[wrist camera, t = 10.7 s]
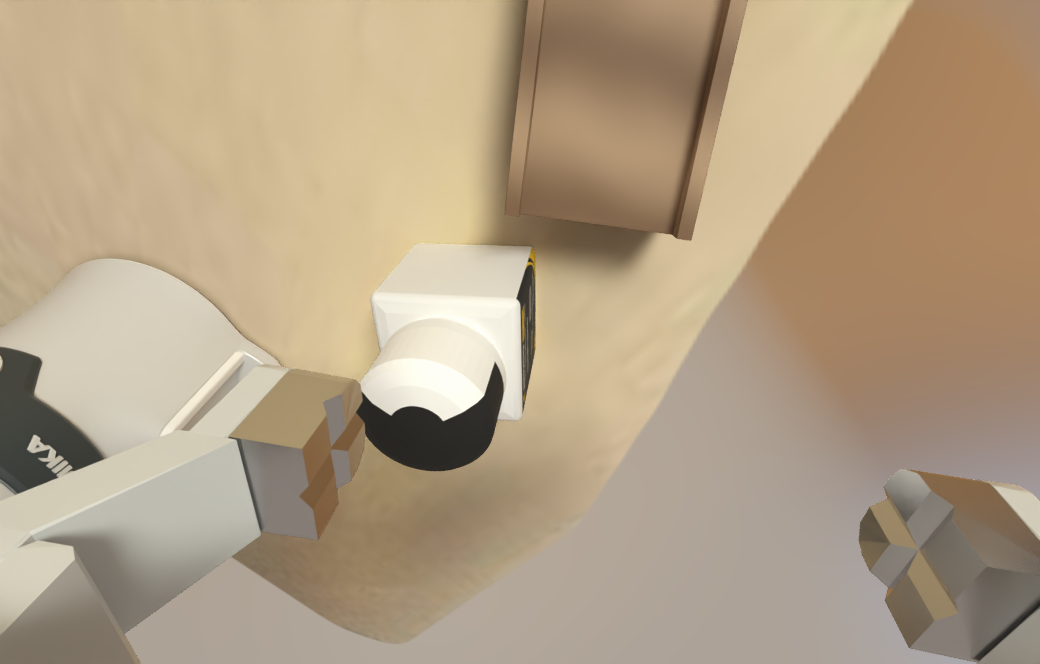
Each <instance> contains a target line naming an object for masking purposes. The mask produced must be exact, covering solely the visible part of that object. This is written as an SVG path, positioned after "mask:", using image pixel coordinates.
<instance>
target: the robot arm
mask: <svg viewBox="0 0 1040 664" xmlns="http://www.w3.org/2000/svg"><path fill="white" fill-rule="evenodd" d="M362 401H363V400H362V392H361V384H360V383H358V382H357V381H356V380H354V379H348V378H343V377H338V376H332V375H327V374H321V373H316V372H311V371H305V370H300V369H291V368H286V367H281V365H280V364H279V362H278V361H277V360H276V359H275V358H273V357H272V356H271V355H270V354H268V353H267V352H265V351H264V350H262V349H261V348H259V347H258V346H256V345H255V344H253V343H251V342H250V341H248V340H247V339H245V338H244V337H243V336H242V335H241V334H240V333H239V332H238V331H237V330H236V329H235V328H234V326H233V325H232V324H231V323H230V322H229V321H228V320H227V318H226V317H225V316H224V315H223V314H222V313H221V312H220V311H219V310H218V309H217V308H216V307H215V306H214V305H213V304H212V303H211V302H210V301H208V300H207V299H206V298H205V297H204V296H202V295H201V294H200V293H199V292H197V291H196V290H194V289H193V288H192V287H190V286H189V285H187V284H186V283H184V282H182V281H181V280H179V279H177V278H175V277H174V276H172V275H170V274H168V273H166V272H163V271H161V270H159V269H156V268H154V267H151V266H148V265H145V264H142V263H138V262H134V261H129V260H123V259H97V260H92V261H88V262H85V263H83V264H80V265H78V266H77V267H75V268H74V269H72V270H71V271H70V272H69V273H68V274H67V275H66V276H65V277H64V278H63V279H62V280H61V281H60V282H59V283H58V284H57V285H56V286H55V287H54V288H53V289H52V290H51V291H50V292H48V293H47V294H46V295H45V296H44V297H43V298H41V299H40V300H39V301H38V302H36V303H35V304H34V305H32V306H31V307H30V308H28V309H27V310H26V311H24V312H23V313H22V314H20V315H19V316H17V317H16V318H14V319H13V320H11V321H10V322H8V323H7V324H5V325H4V326H2V327H1V328H0V664H141V663H140V660H139V659H138V657H137V655H136V653H135V652H134V650H133V648H132V647H131V645H130V643H129V641H128V640H127V638H126V636H125V635H124V634H125V633H126V632H128V631H129V630H130V629H132V628H133V627H135V626H136V625H137V624H139V623H140V622H141V621H143V620H144V619H145V618H147V617H148V616H150V615H151V614H153V613H154V612H155V611H157V610H158V609H159V608H161V607H162V606H164V605H165V604H166V603H168V602H169V601H170V600H172V599H173V598H175V597H176V596H177V595H179V594H180V593H182V592H183V591H184V590H186V589H187V588H188V587H190V586H191V585H193V584H194V583H195V582H197V581H198V580H200V579H201V578H202V577H204V576H205V575H206V574H208V573H209V572H210V571H212V570H213V569H215V568H216V567H218V566H219V565H220V564H222V563H223V562H224V561H226V560H227V559H228V558H230V557H231V556H233V555H234V554H236V553H237V552H238V551H240V550H241V549H242V548H244V547H245V546H247V545H248V544H249V543H251V542H252V541H253V540H255V539H256V538H258V537H259V536H260V535H261V532H268V533H274V534H281V535H287V536H294V537H300V538H307V539H314V540H318V539H319V537H320V536H321V534H322V532H323V530H324V528H325V527H326V525H327V523H328V521H329V520H330V518H331V516H332V514H333V512H334V511H335V509H336V507H337V505H338V496H337V489H338V488H339V487H341V486H343V485H344V484H346V483H348V482H349V481H351V480H352V478H353V476H354V474H355V472H356V470H357V468H358V466H359V463H360V460H361V456H362V453H363V450H364V442H365V423H364V422H363V420H362V419H361V418H360V417H359V416H358V414H357V413H356V411H357V409H358V408H359V406H360V405H361V403H362ZM884 489H885V493H886V496H887V499H885V500H883V501H881V502H879V503H877V504H875V505H873V506H871V507H869V509H868V511H867V513H866V514H865V516H864V517H863V519H862V521H861V522H860V532H859V544H860V548H861V553H862V556H863V558H864V560H865V562H866V564H867V566H868V568H869V571H870V572H871V573H872V574H874V575H875V576H876V577H877V578H878V579H879V580H880V581H881V582H883V583H884V584H885V585H886V586H887V587H888V590H887V594H886V597H885V602H886V604H887V606H888V608H889V610H890V612H891V614H892V616H893V618H894V620H895V622H896V624H897V626H898V627H899V629H900V631H901V633H902V635H903V637H904V639H905V641H906V643H907V645H908V647H909V648H911V649H916V650H920V651H925V652H930V653H934V654H939V655H944V656H948V657H954V658H958V659H963V660H967V661H973V662H977V664H1040V501H1039V500H1038V499H1037V498H1036V497H1035V496H1034V495H1033V494H1032V493H1030V492H1029V491H1027V490H1025V489H1023V488H1021V487H1020V486H1018V485H1013V484H1006V483H999V482H992V481H985V480H972V479H966V478H960V477H953V476H947V475H941V474H934V473H928V472H922V471H915V470H909V469H902V470H900V471H898V472H896V473H894V474H893V475H892V476H891V477H890V479H889V480H888V481H887V483H886V484H885V486H884Z"/></svg>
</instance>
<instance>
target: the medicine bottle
mask: <svg viewBox="0 0 1040 664" xmlns="http://www.w3.org/2000/svg"><path fill="white" fill-rule="evenodd" d="M370 301H371V306H372V311H373V316H374V322H375V327H376V332H377V338H378V343H379V348H380V354H379V355H378V357H377V358H376V360H375V361H374V363H373V364H372V366H371V367H370V369H369V370H368V371H367V373H366V374H365V376H364V377H363V379H362V380H361V382H360V384H361V392H362V400H363V401H362V403H361V405H360V406H359V408H358V409H357V411H356V413H357V414H358V416H359V417H360V418H361V419H362V420H363V422H364V423H365V434H366V436H367V437H368V439H369V440H370V441H371V442H372V444H373V445H374V446H375V447H376V448H377V449H379V450H380V451H381V452H382V453H384V454H385V455H386V456H388V457H389V458H391V459H393V460H394V461H397V462H399V463H401V464H403V465H406V466H408V467H412V468H415V469H419V470H426V471H446V470H452V469H455V468H459V467H462V466H465V465H467V464H469V463H471V462H473V461H474V460H476V459H478V458H479V457H480V456H481V455H482V454H483V453H484V452H485V451H486V450H487V448H488V447H489V445H490V443H491V441H492V438H493V435H494V431H495V427H496V423H497V420H509V421H518V420H520V419H521V417H522V414H523V409H524V404H525V399H526V394H527V389H528V384H529V379H530V374H531V369H532V364H533V359H534V354H535V251H534V249H533V248H532V247H530V246H503V245H471V244H440V243H417V244H415V245H414V246H413V247H412V249H411V250H410V251H409V252H408V253H407V254H406V255H405V257H404V258H403V259H402V260H401V261H400V262H399V264H398V265H397V266H396V267H395V268H394V269H393V271H392V272H391V273H390V274H389V275H388V276H387V278H386V279H385V280H384V281H383V282H382V283H381V285H380V286H379V287H378V288H377V289H376V290H375V292H374V293H373V294H372V295H371V300H370Z"/></svg>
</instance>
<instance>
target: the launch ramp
mask: <svg viewBox="0 0 1040 664" xmlns="http://www.w3.org/2000/svg"><path fill="white" fill-rule="evenodd" d="M747 2H748V0H528V7H527V16H526V25H525V34H524V43H523V52H522V61H521V70H520V79H519V88H518V98H517V107H516V116H515V125H514V134H513V143H512V152H511V161H510V170H509V179H508V188H507V197H506V206H505V215H510V216H517V217H518V216H520V215H521V214H526V215H534V216H541V217H548V218H555V219H563V220H570V221H577V222H584V223H592V224H599V225H606V226H613V227H621V228H628V229H635V230H642V231H650V232H657V233H664V234H671V235H673V236H674V237H675V238H677V239H683V240H691V239H692V235H693V231H694V227H695V222H696V218H697V214H698V210H699V205H700V201H701V197H702V193H703V188H704V184H705V180H706V176H707V171H708V167H709V163H710V159H711V154H712V150H713V146H714V142H715V137H716V133H717V129H718V125H719V121H720V116H721V112H722V108H723V104H724V99H725V95H726V91H727V87H728V82H729V78H730V74H731V70H732V65H733V61H734V57H735V53H736V48H737V44H738V40H739V36H740V31H741V27H742V23H743V19H744V14H745V10H746V6H747Z"/></svg>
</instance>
